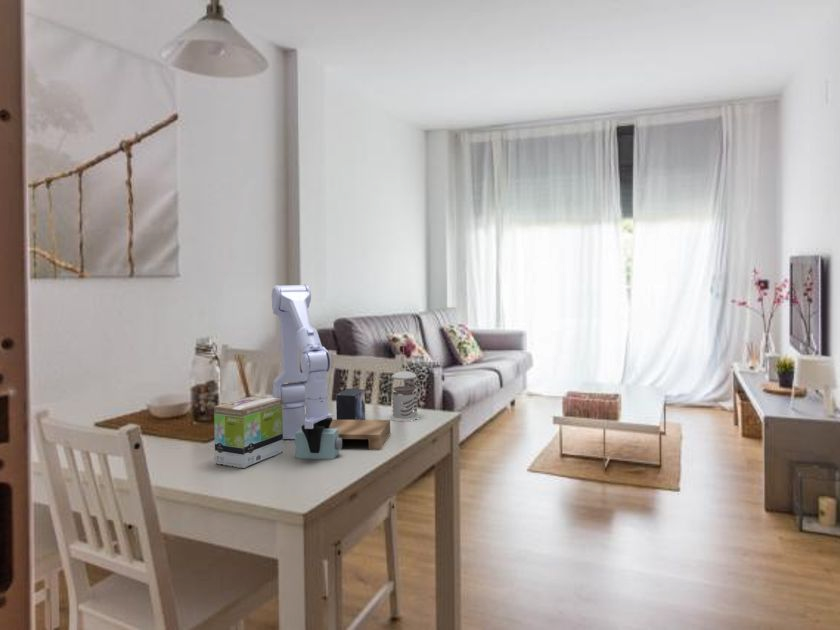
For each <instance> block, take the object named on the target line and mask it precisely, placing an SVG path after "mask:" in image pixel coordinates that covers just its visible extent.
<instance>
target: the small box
mask: <svg viewBox="0 0 840 630" xmlns="http://www.w3.org/2000/svg"><path fill="white" fill-rule="evenodd" d="M365 390H366V389H363V388H348V387H347V388H346V389H344V390H342V391H340V392H339V393H336V394H335V400H336V401H335V402H336V407H335V409H336V412H335V413H336V420H366V399H365V398H366V397H365V396H366V392H365Z"/></svg>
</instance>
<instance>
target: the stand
mask: <svg viewBox="0 0 840 630" xmlns="http://www.w3.org/2000/svg"><path fill="white" fill-rule="evenodd" d="M329 429H338V431H339V438H342V440H368V450H369V449H380V448H382V447H383V446H384V444H385V443H386V441H387V440H388V439H389V437H390V435H391V419H365V420H337V419H332V422H331V424H330V427H329ZM389 434H390V435H389ZM386 439H387V440H386ZM384 442H385V443H384ZM382 445H383V446H382ZM380 450H381V449H380Z"/></svg>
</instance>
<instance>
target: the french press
mask: <svg viewBox="0 0 840 630" xmlns="http://www.w3.org/2000/svg"><path fill="white" fill-rule="evenodd" d="M406 345H407V342H406V341H405V340H402V341H401V342H400V346H402V351H403V352H402V353H403V355H402V356H403V362H405V346H406ZM417 377H418V375H417V374H416V373H414V372H412V371H409V370H405V369H403V370H402V371H397V372H395V373H394V374H393V375H391V378H392V379H393V380H394V379H395V380H403V385H402V386H395V387H394V388H393V392H392V393H391V394H392V415H391V416H390V418H391V419H390V421H393V420H394V421H393V422H399V421H407V422H412V421H411V420H415V419H418V418H419V417H420V416H419V415H418V408H417V407H418V403H417V401H418V400H419V398H420V396H421V393H422V386H421V382H420V380H419V379H418V378H417ZM406 380H410V383H411V384H416V387H415V386H407V385H406V386H405V384H406V382H405V381H406ZM412 380H413V381H412ZM417 382H418V383H417ZM418 384H419V387H420V388H419V387H418ZM418 388H419V389H420V391H419V395H418V390H419V389H418ZM415 390H416V391H415ZM417 396H418V397H417ZM403 403H404V404H403ZM418 420H419V419H418ZM415 421H416V420H415Z"/></svg>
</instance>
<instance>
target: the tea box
mask: <svg viewBox="0 0 840 630" xmlns="http://www.w3.org/2000/svg"><path fill="white" fill-rule="evenodd" d="M213 408H214V409H213V412H214V413H213V414H214V415H213V420H214V421H213V423H214V434H213V435H214V464H216V463H217V464H216V465H221V464H223V465H222V466H226V465H227V467H232V466H233V468H238V469H239V468H241V469H245V468H247V467H249V466H252V465H254V464H256V463H259V462H262V461H265V460H266V459H269V458H271V457H274V456H277V455H280V454H282V453H283V452H284V439H283V416H282V399H279V398H273V397H267V396H258V395H257V396H256V395H253V396H249V397H246V398H241V399H238V400H234V401H230V402H226V403H223V404H222V403H221V404H218V405H215V406H214V407H213ZM281 452H282V453H281ZM279 453H280V454H279Z"/></svg>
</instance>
